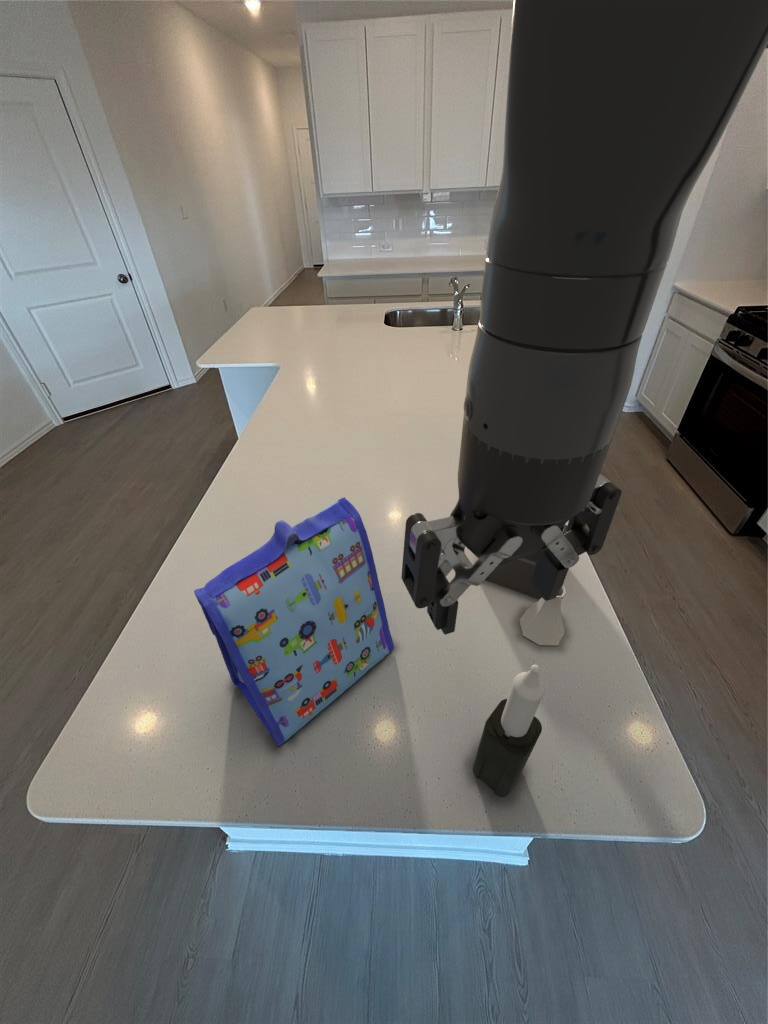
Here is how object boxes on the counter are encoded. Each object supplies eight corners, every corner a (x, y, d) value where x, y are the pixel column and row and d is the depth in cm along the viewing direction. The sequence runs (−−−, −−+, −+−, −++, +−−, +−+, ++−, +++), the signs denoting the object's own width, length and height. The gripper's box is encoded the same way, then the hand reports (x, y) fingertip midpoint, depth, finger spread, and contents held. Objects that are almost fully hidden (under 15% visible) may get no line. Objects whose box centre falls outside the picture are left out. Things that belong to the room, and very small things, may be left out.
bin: (558, 555, 85) (569, 525, 80) (544, 601, 76) (554, 571, 71) (496, 535, 89) (502, 506, 84) (475, 576, 81) (481, 547, 76)
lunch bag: (342, 602, 77) (324, 467, 59) (396, 652, 70) (395, 515, 51) (231, 683, 66) (164, 549, 48) (280, 753, 59) (224, 625, 40)
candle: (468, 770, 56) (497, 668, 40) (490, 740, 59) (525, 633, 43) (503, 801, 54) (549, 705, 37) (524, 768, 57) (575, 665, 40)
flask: (565, 617, 74) (581, 577, 67) (562, 653, 69) (579, 614, 62) (521, 605, 76) (533, 566, 70) (515, 639, 71) (527, 600, 64)
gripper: (443, 485, 18) (428, 682, 29) (705, 421, 22) (606, 618, 32) (383, 407, 24) (389, 597, 34) (600, 366, 27) (545, 550, 38)
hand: (494, 607), depth 33 cm, fingers open, 8 cm apart
